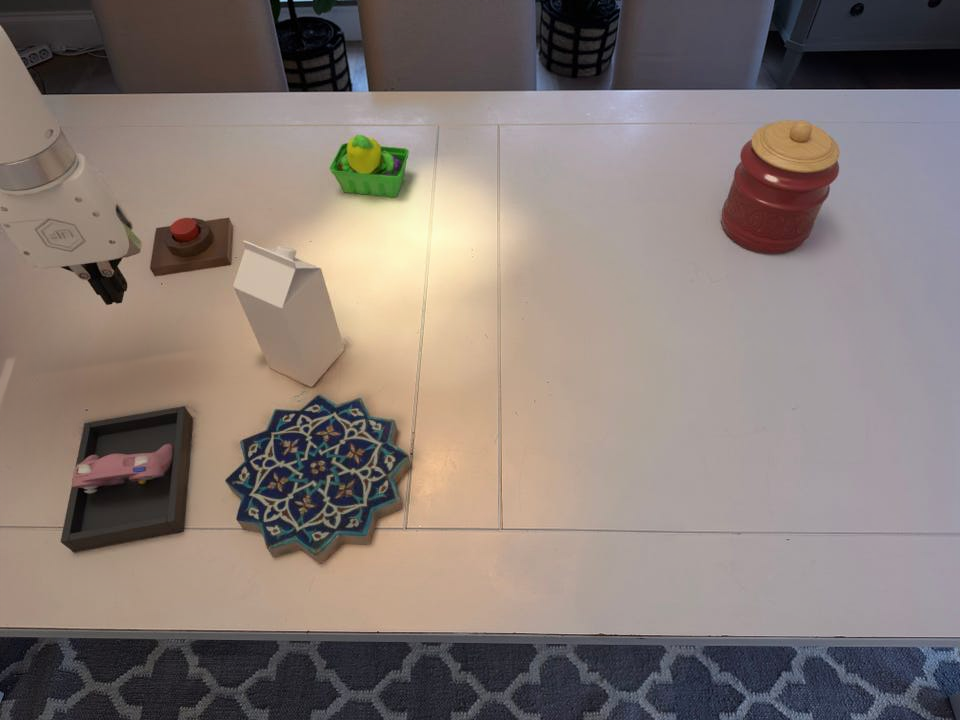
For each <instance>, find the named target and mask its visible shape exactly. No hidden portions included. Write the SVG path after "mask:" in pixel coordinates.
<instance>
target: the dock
mask: <svg viewBox="0 0 960 720" xmlns="http://www.w3.org/2000/svg"><path fill="white" fill-rule="evenodd" d="M193 423H194V418H193V416H192V415H191V414H190V412H189V410H188V409H187V406H185V405H183V406H182V405H181V406H177V407H171V408H164V409H159V410H154V411H147V412H141V413H136V414H130V415H123V416H118V417H111V418H107V419H100V420H94V421H90V422H84V423H83V428H82V431H81V432H82V433H81V437H80V443H79V448H78V452H77V457H76V463H75V467H76V466H77V465H78V464H80V463H82V462H83V461H84V460H85V459H86V458H87V457H89V456H91V455H97V456H99V457H100V458H102V457H104V456H107V455H110V454H115V453H116V454H125V455H131V454H139V453H154V452H156V451H158V450H159V449H160V448H161V447H162V446H164V445H166V444H171V445H172V446H173V447H174V454H173V464H172V466H171V467H170V468H169V470H167V471H166V472H165V473H164V476H161V477H157V478H154V479H151V480H146V483H144V484H139V481H135V482H132V481H131V480H129V477H124V483H123V484H117V485H107V486H99V487H97V488H95V489H94V490H97V491H96V492H94V493H86V492H84V491H88V490H86V489H84V488H73V487H72V486H71V487H70V493H69V498H68V501H67V508H66V513H65V518H64V523H63V528H62V532H61V537H60V543H61V544H62V545H64V546H65V547H66V548H67V549H68V550H70V551H71V552H72V553H78V552H84V551H89V550H94V549H99V548H105V547H109V546H116V545H120V544H125V543H131V542H137V541H142V540H146V539H151V538H152V539H153V538H158V537H163V536H168V535H173V534H179V533H183V532H185V523H186V520H185V519H186V511H187V510H186V509H187V498H188V497H187V495H188V485H189V484H188V483H189V472H190V462H191V461H190V458H191V447H192V436H193V435H192V434H193Z"/></svg>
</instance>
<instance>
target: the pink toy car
mask: <svg viewBox="0 0 960 720" xmlns="http://www.w3.org/2000/svg"><path fill="white" fill-rule="evenodd" d="M173 454H174V447H173V446H172V445H171V444H166V445H164V446H162V447H161V448H160V449H159V450H158V451H156V452H154V453H139V454H131V455H125V454H116V453H115V454H110V455H107V456H104V457H102V458H100V457H99V456H97V455H91V456H89V457H87V458H86V459H85V460H84V461H83V462H82V463H80V464H78V465H77V466H76V465H75V468H74V470H73V473H72V478H71V482H72V483H71V487H73V488H84V489H86V490H88V491H84V492H86V493H94V492H96V491H97V490H94V489H95V488H97V487H99V486H107V485H117V484H123V483H124V477H129V480H131V481H132V482H135V481H139V484H144V483H146V480H151V479H154V478H157V477H161V476H164V473H165V472H166V471H167V470H169V468H170V467H171V466H172V464H173Z"/></svg>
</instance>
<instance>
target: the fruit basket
mask: <svg viewBox="0 0 960 720" xmlns="http://www.w3.org/2000/svg"><path fill="white" fill-rule="evenodd" d="M409 153H410V150H409V149H408V148H406V147H395V146H383V145H380V143H379V142H378V141H377V140H376V139H374V138H372V137H368V136H365V135H363V134H356V135H355V136H353V137H351V138H350V139H349V140H348V142H344V143H342V144H341V145H340V146H339V148H338V150H337V152H336V154H335V156H334V157H333V159H332V161H331V163H330V165H329V167H328V168H329V171H330V173H331V174H332V175H334V177H335V179H336V181H337V183H338V185H339V186H340V188H341V189H342V191H343V192H344V193H349V194H354V193H355V194H360V195H371V196H379V197H383V196H385V197H389V198H397V197H398V193H399V191H400V189H401V187H402V184H403V181H404V180H405V174H406V167H407V162H408V158H409Z"/></svg>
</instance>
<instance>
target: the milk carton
mask: <svg viewBox="0 0 960 720" xmlns="http://www.w3.org/2000/svg"><path fill="white" fill-rule="evenodd" d="M242 243H243V246H244V248H245V249H244V252H243V254H242V258H241V260H240V264H239V267H238V270H237V273H236V275H235V279H234V282H233V285H232V287H233V289H234V292H235V294H236V296H237V298H238V300H239V302H240V305H241V307H242V310H243V312H244V314H245V317H246V318H247V321H248V323H249V326H250V328H251V330H252V332H253V334H254V337H255V338H256V341H257V343H258V345H259V347H260V351H261V353H262V354H263V357H264V359H265V361H266V364H267V365H268V367H269V368H270V369H271V370H273V371H276V372H278V373H280V374H282V375H284V376H286V377H288V378H290V379H292V380H295V381H297V382H298V383H301V384H303V385H305V386H307V387H310V388H313V387H314V385H316V383H317V382H318V381H319V380H320V379H321V377H322V376H323V375H324V374H325V373H326V372H327V370H328V369H329V368H331V366H332V365H333V364H334V363H335V361H336V360H337V359H338V358H339V357H340V355H341V354H342V353H343V352H344V351H345V346H344V342H343V339H342V335H341V332H340V328H339V325H338V322H337V318H336V315H335V312H334V308H333V305H332V301H331V298H330V294H329V291H328V287H327V285H326V280H325V277H324V274H323V271H322V268H321V267H320V266H317V265H315V264H312V263H310V262H307V261H304V260H302V259H300V258H297V257H296V255H297V249H295V248H293V247H290V246H287V245H283V244H282V245H281V244H279V245H276V247H275V248H267V247H262V246H260V245H256V244H255V243H252V242H250V241H248V240H242Z"/></svg>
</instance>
